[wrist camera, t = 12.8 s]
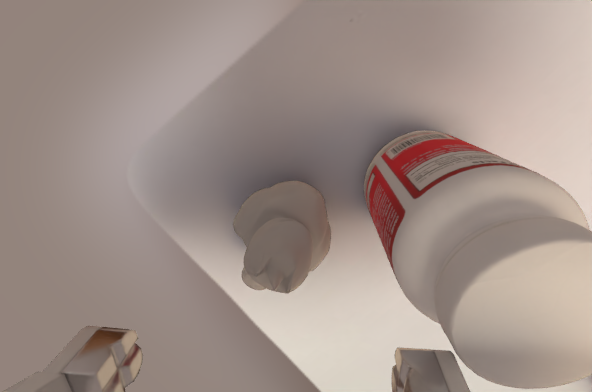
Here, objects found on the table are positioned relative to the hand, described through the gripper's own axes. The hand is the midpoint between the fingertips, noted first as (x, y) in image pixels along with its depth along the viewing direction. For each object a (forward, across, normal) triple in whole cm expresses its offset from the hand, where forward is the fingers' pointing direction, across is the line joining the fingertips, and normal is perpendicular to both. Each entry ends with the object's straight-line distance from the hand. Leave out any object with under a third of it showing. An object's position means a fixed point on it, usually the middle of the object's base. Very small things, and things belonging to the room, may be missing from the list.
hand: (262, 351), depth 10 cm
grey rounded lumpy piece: (+11, 0, +1) cm, 11 cm away
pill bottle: (+11, -7, -2) cm, 13 cm away
